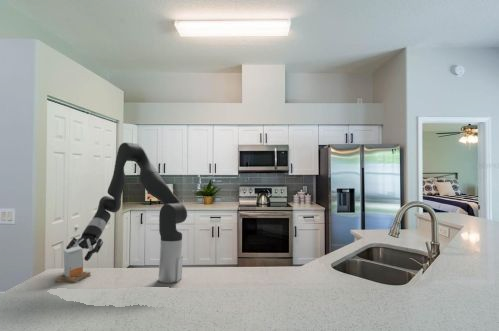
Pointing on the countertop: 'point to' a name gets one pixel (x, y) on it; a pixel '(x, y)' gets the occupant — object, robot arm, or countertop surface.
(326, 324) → the countertop surface
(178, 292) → the countertop surface
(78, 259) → the skincare box
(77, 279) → the tray
